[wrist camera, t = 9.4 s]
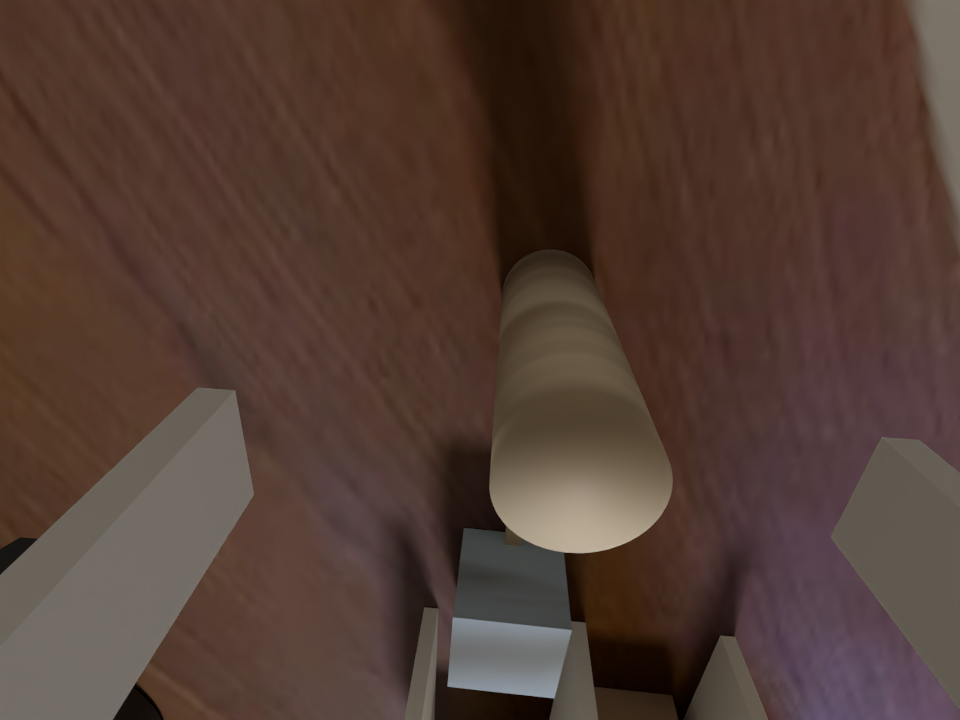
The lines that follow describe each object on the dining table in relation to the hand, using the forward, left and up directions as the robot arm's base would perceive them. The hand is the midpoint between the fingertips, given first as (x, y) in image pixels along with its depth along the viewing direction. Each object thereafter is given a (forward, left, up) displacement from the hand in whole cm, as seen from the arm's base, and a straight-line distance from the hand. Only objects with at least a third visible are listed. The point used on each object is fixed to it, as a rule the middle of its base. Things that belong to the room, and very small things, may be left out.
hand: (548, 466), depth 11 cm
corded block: (+4, -7, -10) cm, 13 cm away
